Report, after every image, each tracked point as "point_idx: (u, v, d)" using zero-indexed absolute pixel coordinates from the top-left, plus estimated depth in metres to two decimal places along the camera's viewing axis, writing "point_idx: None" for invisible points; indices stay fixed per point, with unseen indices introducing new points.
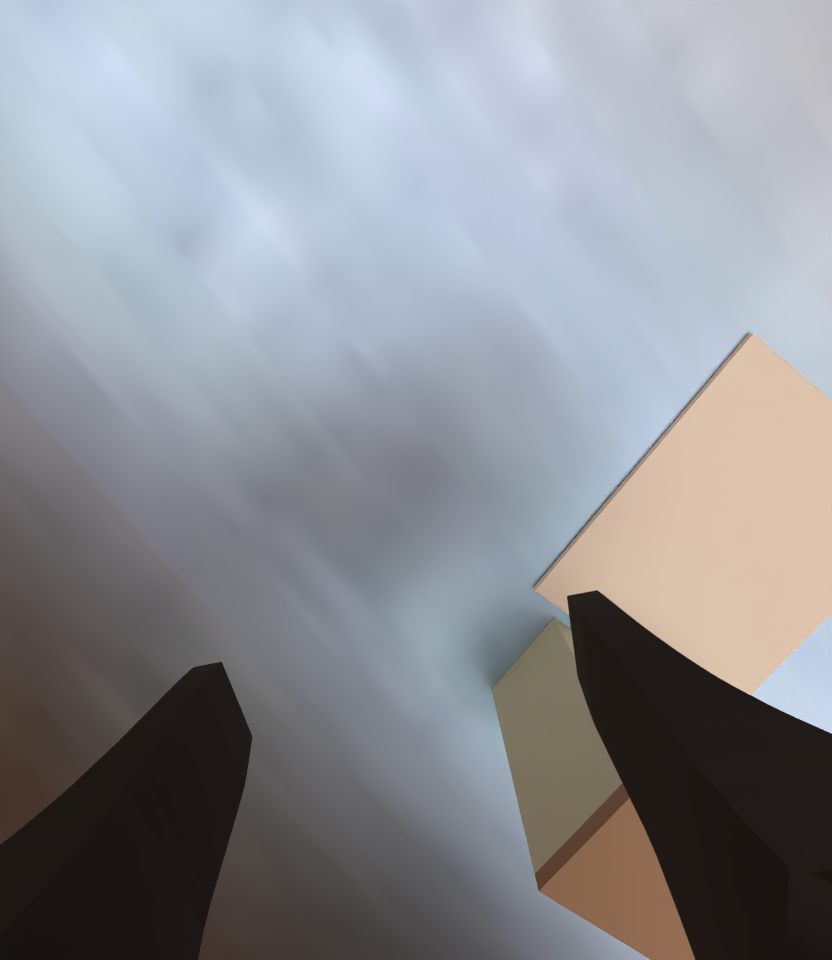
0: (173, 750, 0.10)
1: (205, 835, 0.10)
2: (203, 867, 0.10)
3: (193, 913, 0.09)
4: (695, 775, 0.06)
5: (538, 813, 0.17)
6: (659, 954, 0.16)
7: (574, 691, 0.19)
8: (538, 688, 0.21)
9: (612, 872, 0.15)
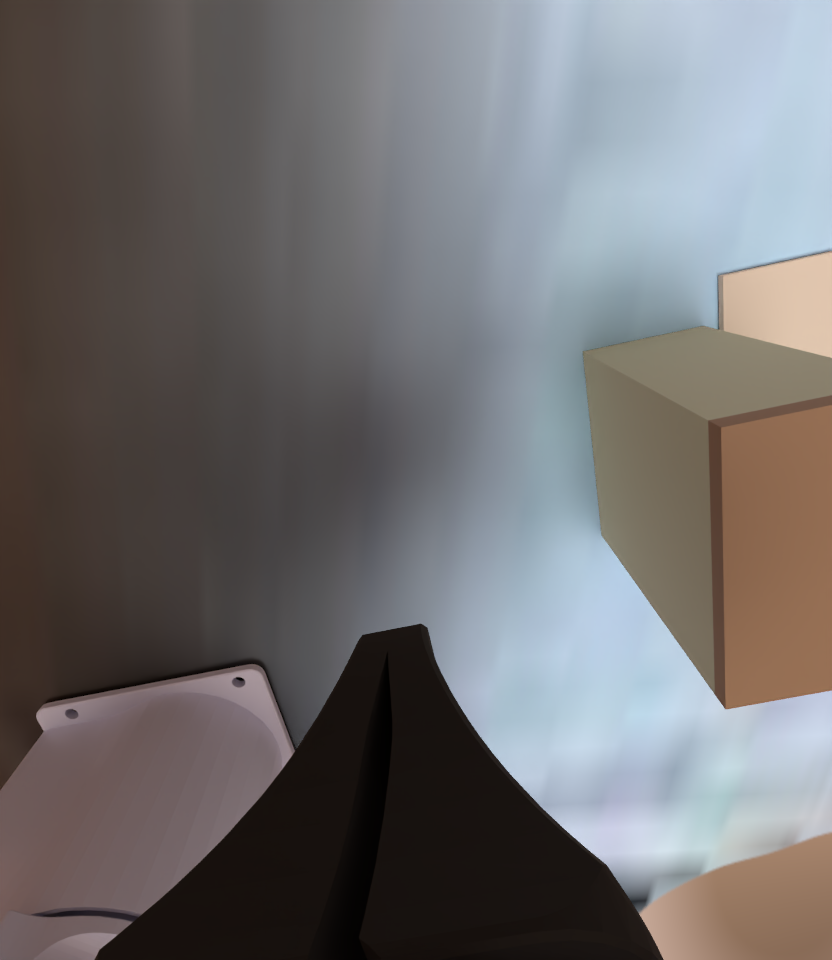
0: (381, 712, 0.09)
1: None
2: None
3: None
4: (387, 829, 0.07)
5: (704, 396, 0.13)
6: (737, 600, 0.13)
7: (760, 350, 0.15)
8: (682, 350, 0.17)
9: (803, 466, 0.11)
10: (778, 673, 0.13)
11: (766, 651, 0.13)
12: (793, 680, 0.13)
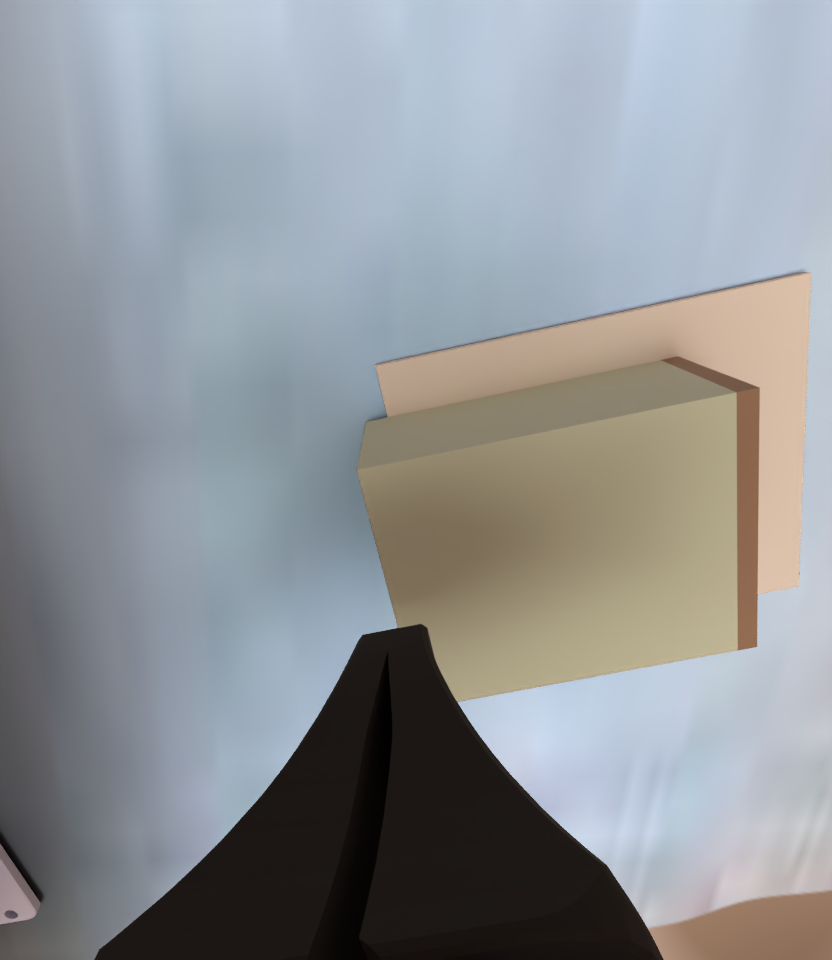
0: (381, 712, 0.09)
1: None
2: None
3: None
4: (387, 828, 0.07)
5: (655, 399, 0.13)
6: None
7: (517, 395, 0.16)
8: (460, 420, 0.15)
9: None
10: None
11: None
12: None
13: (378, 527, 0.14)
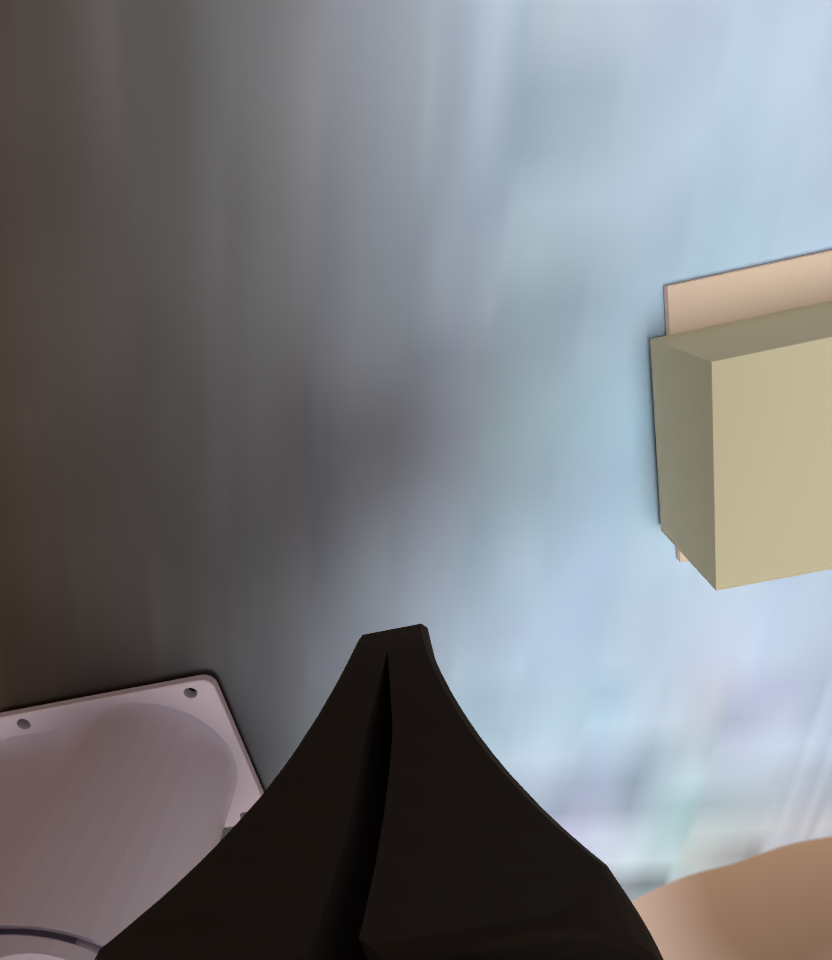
0: (381, 712, 0.09)
1: None
2: None
3: None
4: (387, 829, 0.07)
5: None
6: None
7: (797, 311, 0.18)
8: (765, 329, 0.17)
9: None
10: None
11: None
12: None
13: (718, 415, 0.16)
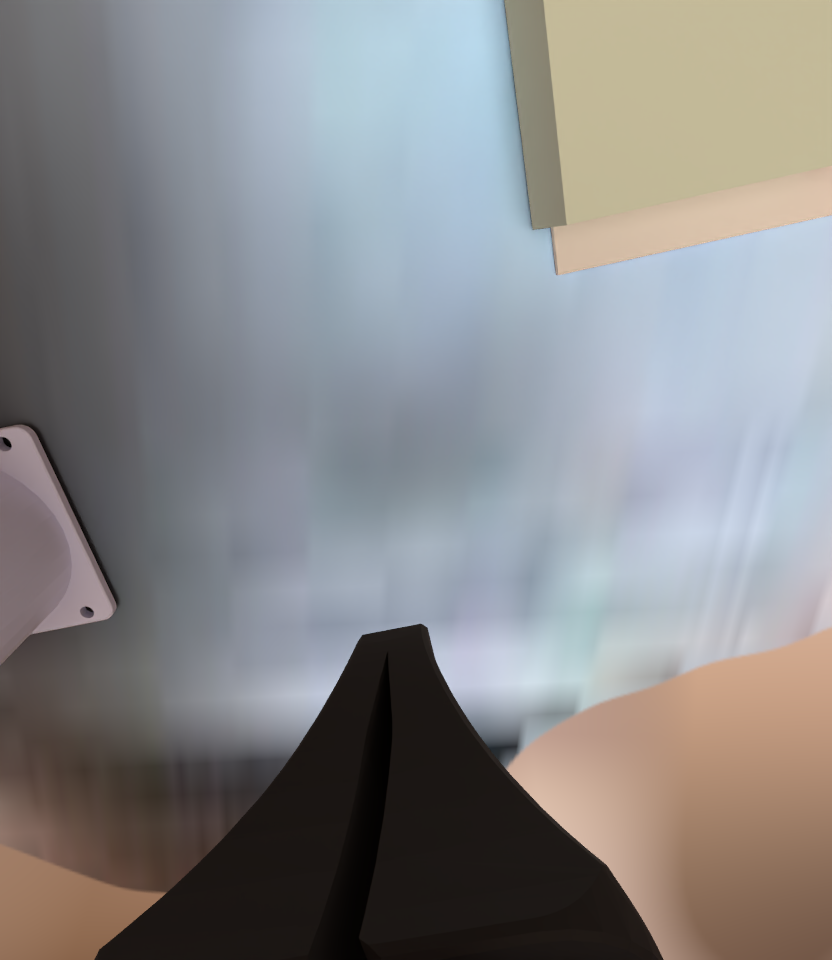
0: (381, 712, 0.09)
1: None
2: None
3: None
4: (387, 829, 0.07)
5: None
6: None
7: None
8: None
9: None
10: None
11: None
12: None
13: None
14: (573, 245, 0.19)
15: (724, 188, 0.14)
